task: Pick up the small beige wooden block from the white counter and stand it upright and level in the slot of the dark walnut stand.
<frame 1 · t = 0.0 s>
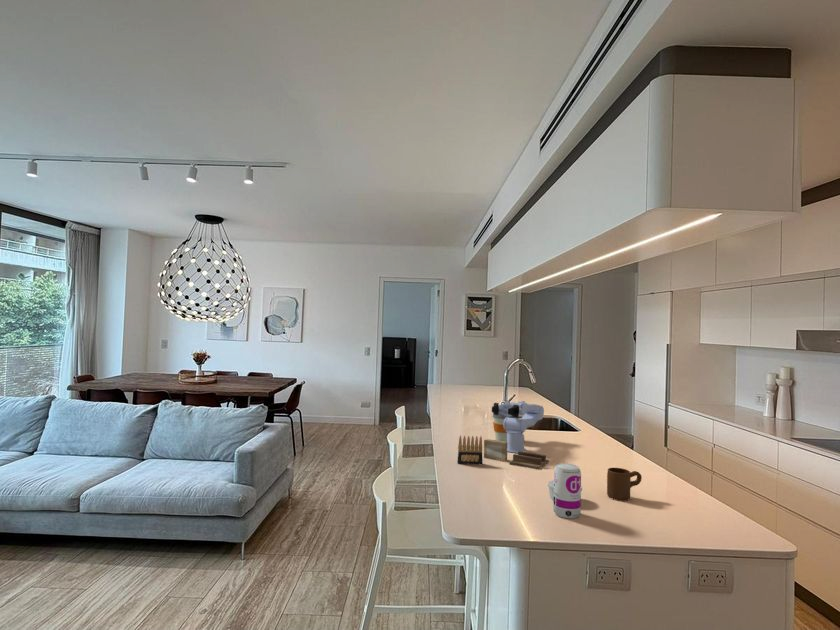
hand: (500, 410, 217), 22 cm above the countertop, tool horizontal, fingers open, 7 cm apart
beige wooden block: (495, 459, 217), on the countertop
ammunition clip: (469, 464, 209), on the countertop
mug: (624, 498, 170), on the countertop
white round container: (564, 500, 166), on the countertop
reusable coffee cup: (504, 441, 254), on the countertop
notched stand: (529, 463, 211), on the countertop
supplement can: (566, 515, 153), on the countertop
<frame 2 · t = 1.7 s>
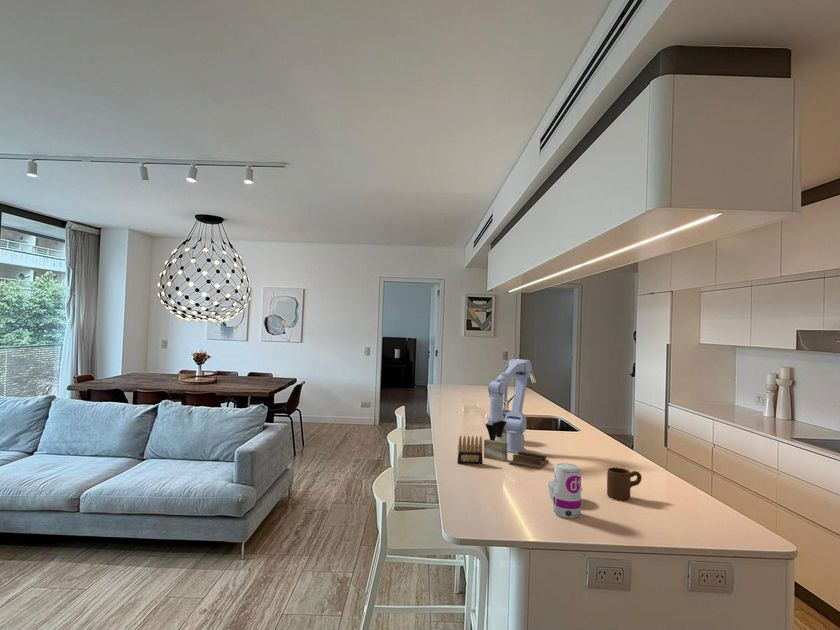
hand: (495, 438, 218), 9 cm above the countertop, tool pointing down, fingers open, 7 cm apart
nothing on the countertop moved.
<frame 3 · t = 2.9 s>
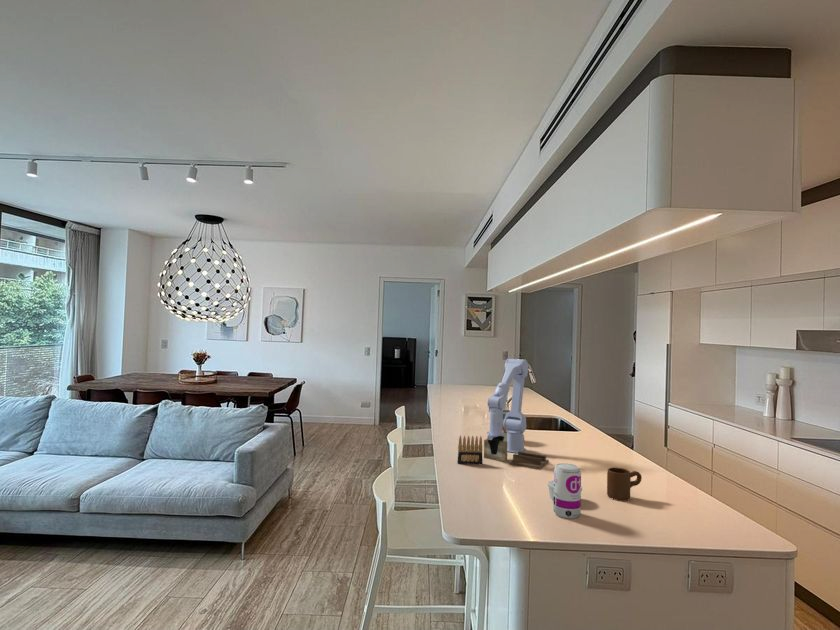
hand: (495, 453, 218), 2 cm above the countertop, tool pointing down, fingers closed on beige wooden block, 3 cm apart
beige wooden block: (495, 458, 217), on the countertop, touching gripper
everything else where it was.
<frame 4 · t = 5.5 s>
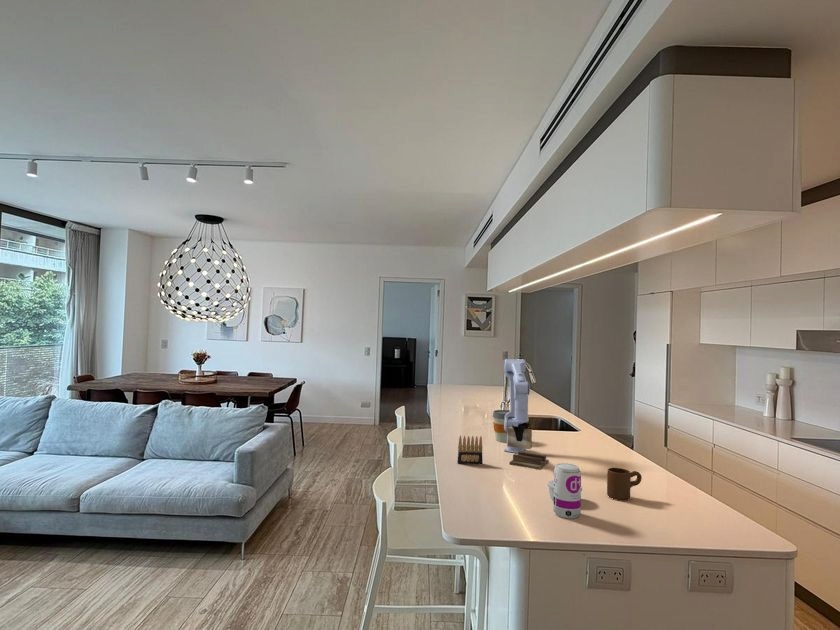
hand: (520, 440, 213), 9 cm above the countertop, tool pointing down, fingers closed on beige wooden block, 3 cm apart
beige wooden block: (519, 447, 213), point 7 cm above the countertop, touching gripper
everything else where it was.
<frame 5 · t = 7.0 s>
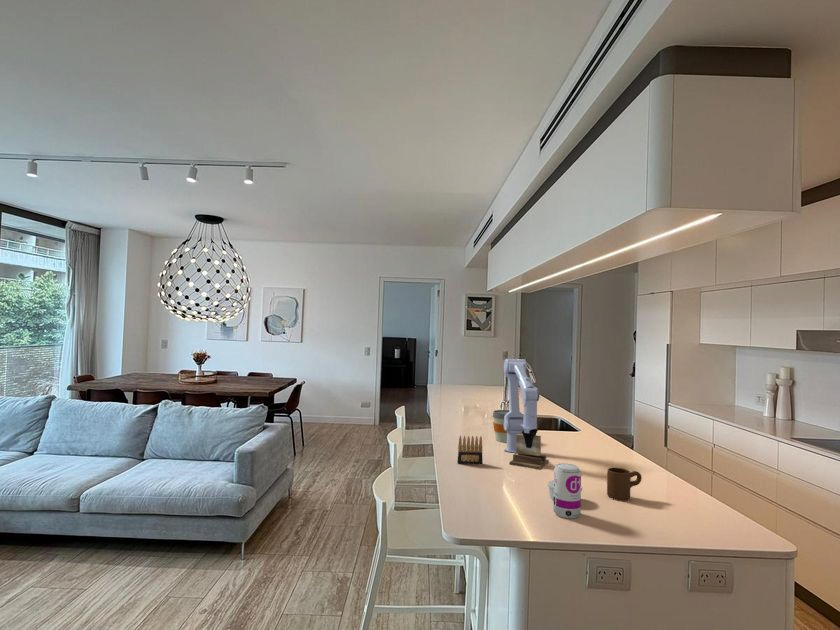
hand: (529, 446, 212), 7 cm above the countertop, tool pointing down, fingers closed on beige wooden block, 3 cm apart
beige wooden block: (528, 453, 212), point 4 cm above the countertop, touching gripper
everything else where it was.
when the fingers open (5 cm above the countertop, at t = 8.2 s): beige wooden block stays where it is, resting on notched stand.
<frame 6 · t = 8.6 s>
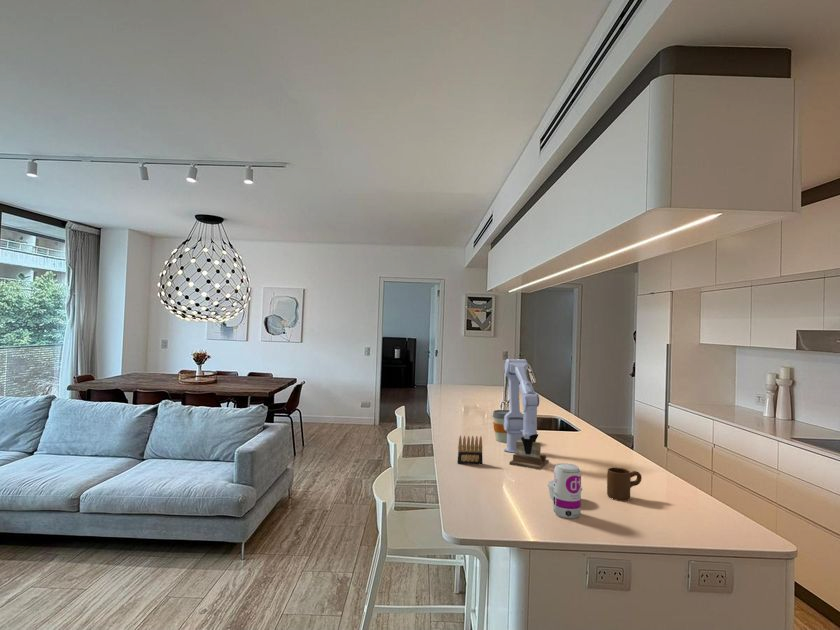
hand: (529, 452, 212), 5 cm above the countertop, tool pointing down, fingers open, 6 cm apart
beige wooden block: (528, 460, 212), point 1 cm above the countertop, touching notched stand
everything else where it was.
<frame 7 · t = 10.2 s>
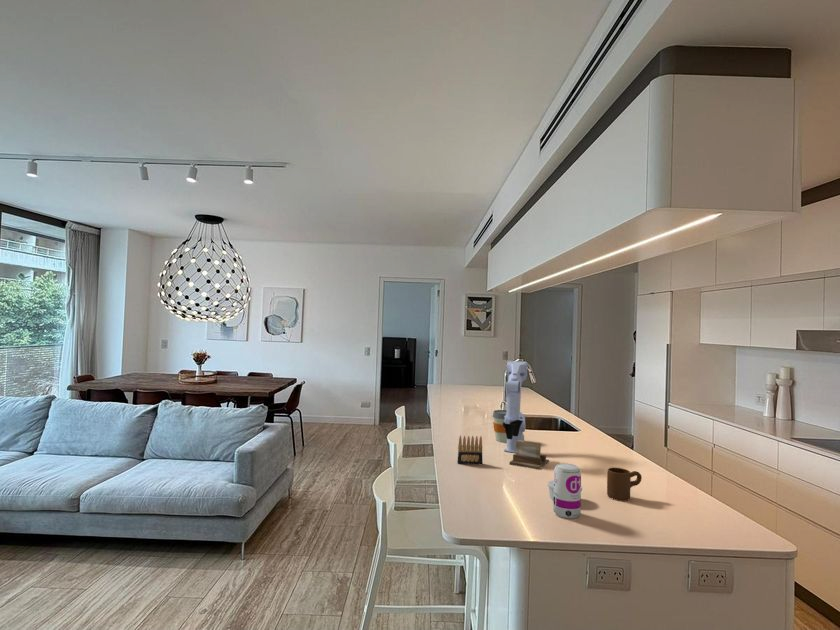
hand: (512, 437, 219), 9 cm above the countertop, tool pointing down, fingers open, 7 cm apart
nothing on the countertop moved.
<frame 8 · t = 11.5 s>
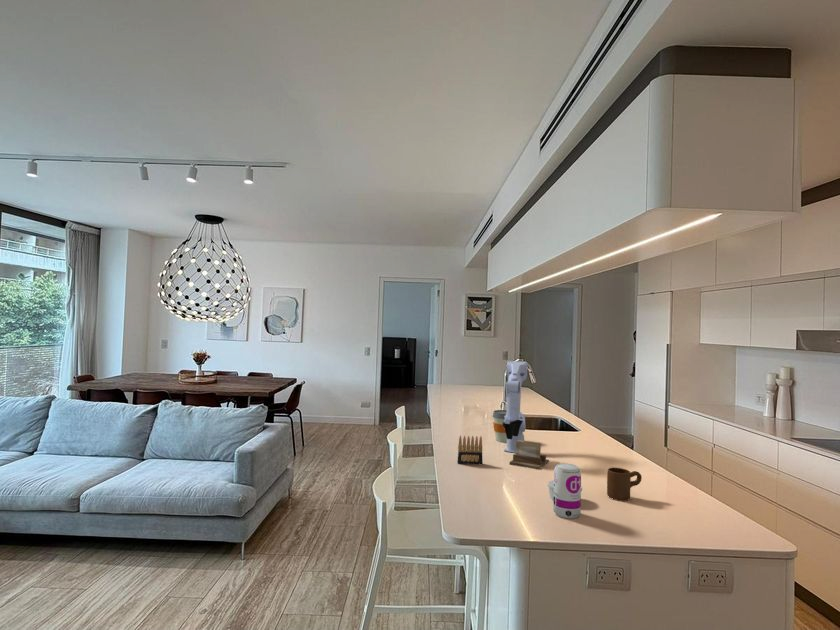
hand: (512, 437, 219), 9 cm above the countertop, tool pointing down, fingers open, 7 cm apart
nothing on the countertop moved.
at the end: beige wooden block 0.5 cm off-centre on the notched stand, point 1.0 cm above the notched stand's base; beige wooden block tilted 0°; the gripper is holding nothing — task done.
